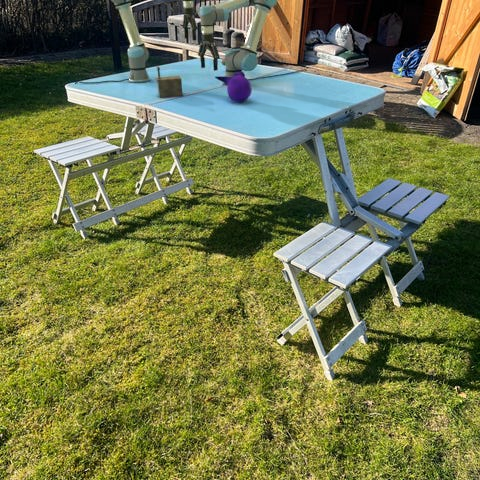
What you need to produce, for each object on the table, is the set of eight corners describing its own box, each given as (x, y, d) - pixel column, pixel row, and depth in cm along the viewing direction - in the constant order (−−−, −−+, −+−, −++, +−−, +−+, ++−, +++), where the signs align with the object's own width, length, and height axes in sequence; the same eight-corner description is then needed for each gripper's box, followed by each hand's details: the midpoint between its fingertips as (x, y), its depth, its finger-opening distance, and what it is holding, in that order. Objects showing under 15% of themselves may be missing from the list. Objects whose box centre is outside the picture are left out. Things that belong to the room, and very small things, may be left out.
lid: (156, 81, 285) (155, 68, 281) (155, 79, 293) (153, 65, 289) (181, 80, 289) (180, 66, 284) (179, 77, 296) (178, 64, 292)
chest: (159, 97, 290) (158, 81, 285) (158, 94, 298) (156, 79, 293) (182, 96, 294) (181, 80, 289) (180, 93, 301) (179, 77, 296)
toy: (237, 93, 295) (251, 108, 274) (212, 89, 288) (224, 103, 267) (243, 69, 287) (258, 82, 266) (217, 64, 279) (231, 76, 259)
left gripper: (200, 8, 319) (202, 40, 330) (185, 6, 337) (187, 37, 348) (191, 8, 316) (193, 41, 326) (176, 7, 334) (179, 38, 345)
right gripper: (191, 32, 289) (193, 67, 299) (214, 35, 272) (216, 72, 283) (200, 31, 293) (202, 66, 304) (224, 34, 276) (225, 70, 287)
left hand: (190, 39), depth 337 cm, fingers open, 13 cm apart
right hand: (209, 69), depth 293 cm, fingers open, 13 cm apart
